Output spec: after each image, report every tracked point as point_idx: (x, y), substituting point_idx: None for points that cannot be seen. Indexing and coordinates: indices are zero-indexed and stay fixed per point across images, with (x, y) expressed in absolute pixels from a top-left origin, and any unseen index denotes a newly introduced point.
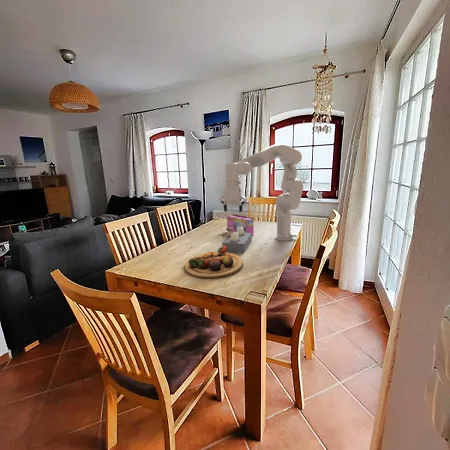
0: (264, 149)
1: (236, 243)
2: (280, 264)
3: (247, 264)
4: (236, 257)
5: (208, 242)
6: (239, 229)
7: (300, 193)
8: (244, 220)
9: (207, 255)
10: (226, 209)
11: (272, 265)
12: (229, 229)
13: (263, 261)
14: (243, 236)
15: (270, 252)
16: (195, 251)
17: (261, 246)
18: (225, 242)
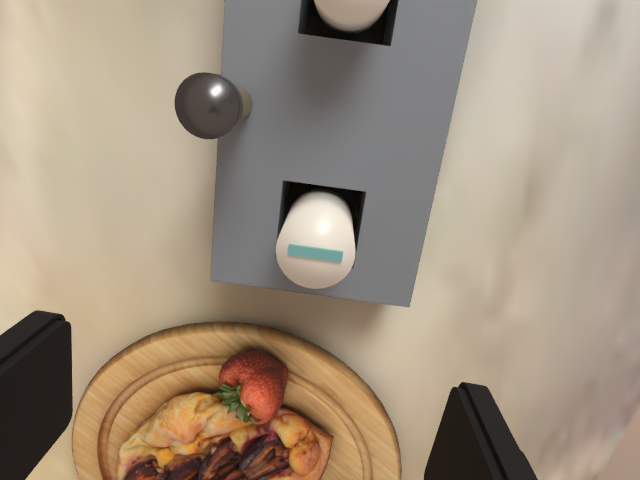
0: None
1: (342, 297)
2: (616, 435)
3: (424, 440)
4: (357, 416)
5: (23, 9)
6: (349, 19)
7: None
8: None
9: (173, 453)
10: (44, 388)
11: (566, 448)
12: (226, 133)
13: (522, 401)
14: (395, 74)
15: (599, 253)
16: (25, 254)
17: (548, 111)
18: (239, 277)
